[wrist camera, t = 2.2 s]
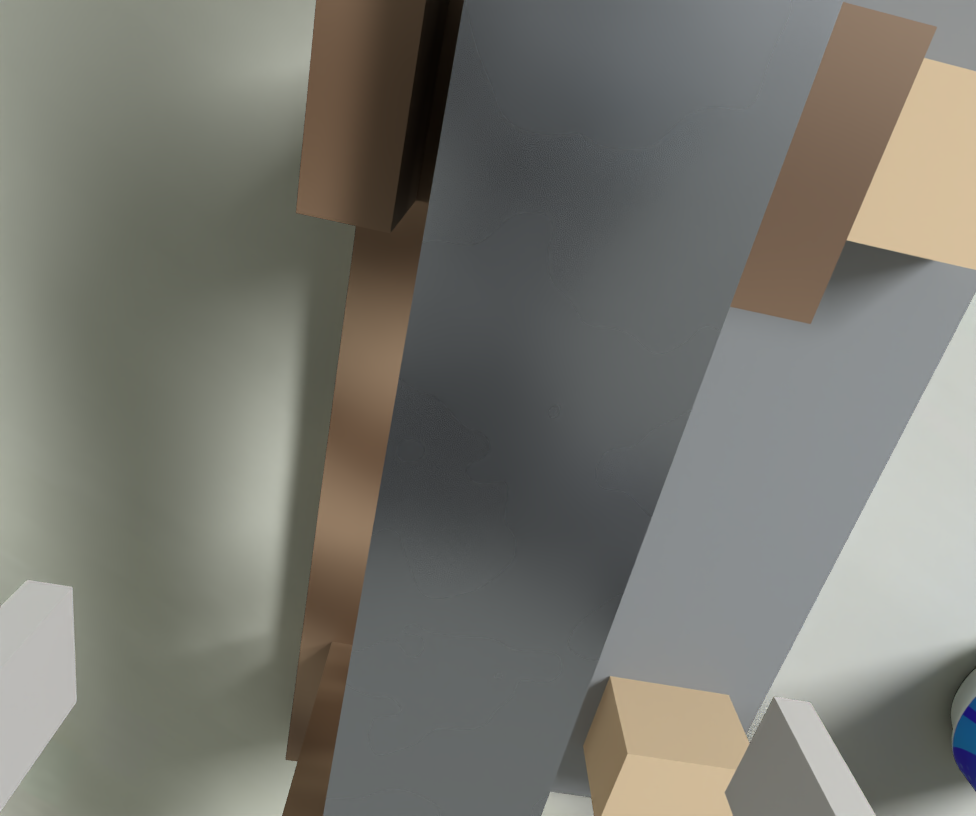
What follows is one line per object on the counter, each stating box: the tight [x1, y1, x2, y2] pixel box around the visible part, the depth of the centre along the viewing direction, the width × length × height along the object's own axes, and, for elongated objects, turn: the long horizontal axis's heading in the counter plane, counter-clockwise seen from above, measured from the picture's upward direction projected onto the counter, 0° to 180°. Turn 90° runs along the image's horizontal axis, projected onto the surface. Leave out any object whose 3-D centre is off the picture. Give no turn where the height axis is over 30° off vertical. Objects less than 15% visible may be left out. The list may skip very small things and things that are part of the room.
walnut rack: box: [282, 0, 937, 816], centre depth 16 cm, size 30×8×13 cm, turn 168°
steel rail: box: [323, 0, 844, 816], centre depth 11 cm, size 30×3×4 cm, turn 168°
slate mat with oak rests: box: [550, 0, 976, 816], centre depth 22 cm, size 32×8×4 cm, turn 168°
